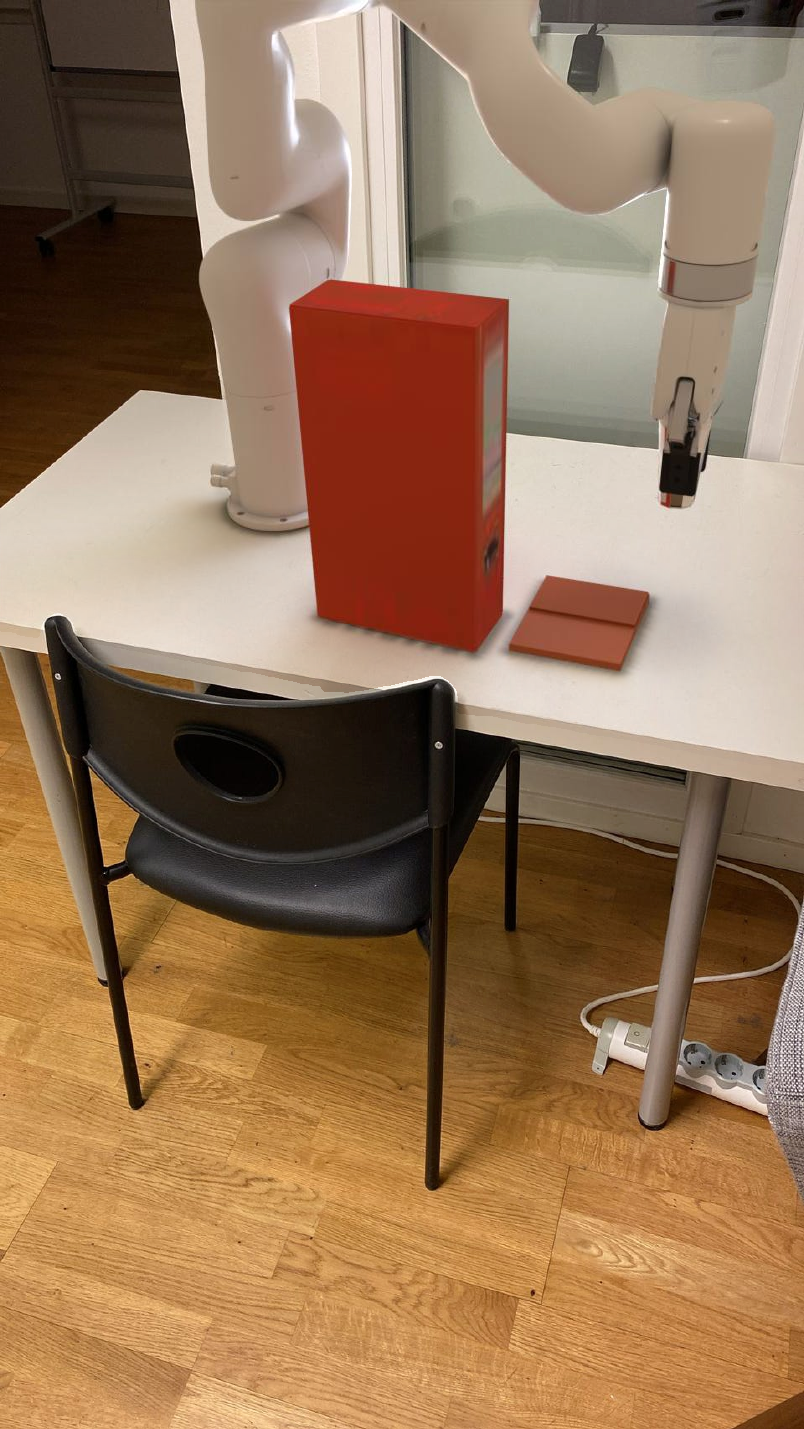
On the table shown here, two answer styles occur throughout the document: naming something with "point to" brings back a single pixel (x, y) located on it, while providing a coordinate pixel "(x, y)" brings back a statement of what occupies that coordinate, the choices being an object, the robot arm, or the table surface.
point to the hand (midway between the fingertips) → (682, 479)
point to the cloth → (581, 622)
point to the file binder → (404, 456)
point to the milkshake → (686, 501)
